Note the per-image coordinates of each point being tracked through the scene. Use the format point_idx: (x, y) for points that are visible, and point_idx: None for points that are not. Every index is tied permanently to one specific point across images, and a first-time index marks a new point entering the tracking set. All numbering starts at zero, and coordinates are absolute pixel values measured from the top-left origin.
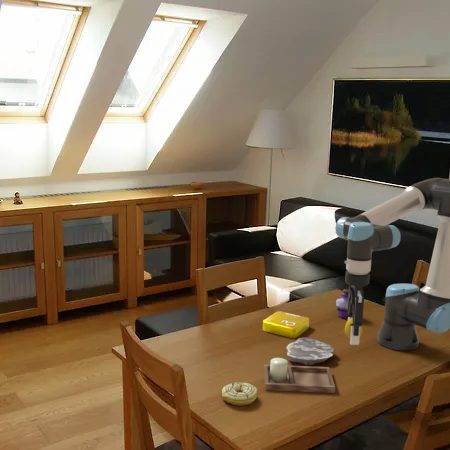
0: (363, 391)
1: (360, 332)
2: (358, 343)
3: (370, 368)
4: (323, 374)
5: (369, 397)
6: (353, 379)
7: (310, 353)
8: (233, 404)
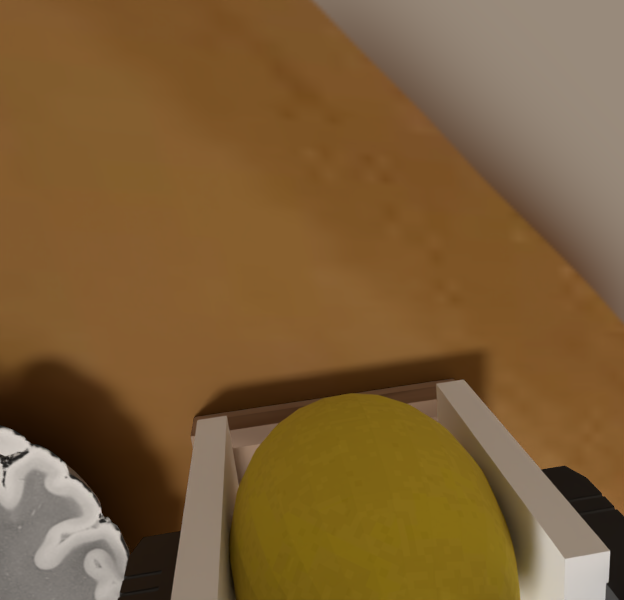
0: (408, 211)
1: (457, 443)
2: (469, 393)
3: (31, 132)
4: (251, 452)
5: (481, 179)
6: (252, 267)
7: (25, 566)
8: None
